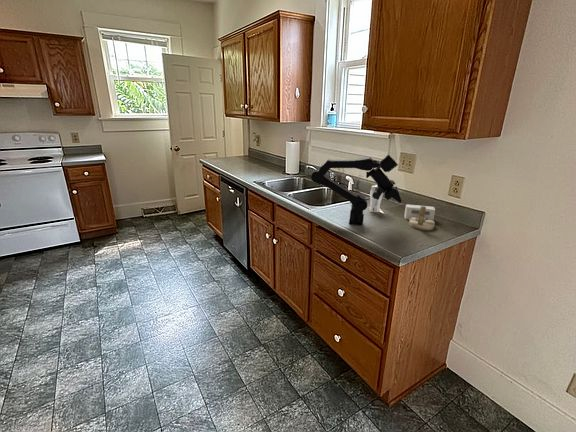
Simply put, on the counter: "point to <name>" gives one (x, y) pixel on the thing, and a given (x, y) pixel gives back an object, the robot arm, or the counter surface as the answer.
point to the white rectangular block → (414, 212)
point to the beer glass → (374, 200)
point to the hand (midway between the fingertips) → (400, 202)
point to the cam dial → (421, 221)
